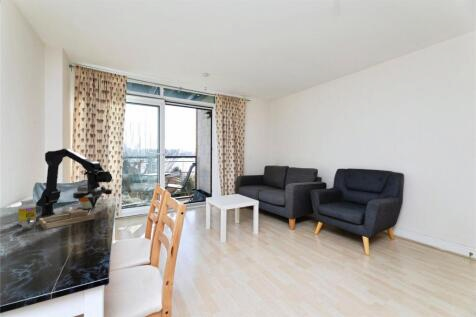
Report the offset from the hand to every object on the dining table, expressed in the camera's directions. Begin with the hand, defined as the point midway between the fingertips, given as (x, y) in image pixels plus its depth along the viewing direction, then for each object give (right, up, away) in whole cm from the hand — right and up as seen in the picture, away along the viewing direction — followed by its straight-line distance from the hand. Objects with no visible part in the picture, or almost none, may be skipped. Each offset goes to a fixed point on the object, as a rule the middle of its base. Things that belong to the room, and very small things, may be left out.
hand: (93, 207), depth 128 cm
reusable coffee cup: (-17, -5, +20) cm, 27 cm away
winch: (-18, -6, -22) cm, 29 cm away
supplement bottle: (-27, -6, -14) cm, 30 cm away
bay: (-8, -6, -10) cm, 13 cm away
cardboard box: (-5, -6, -6) cm, 10 cm away
